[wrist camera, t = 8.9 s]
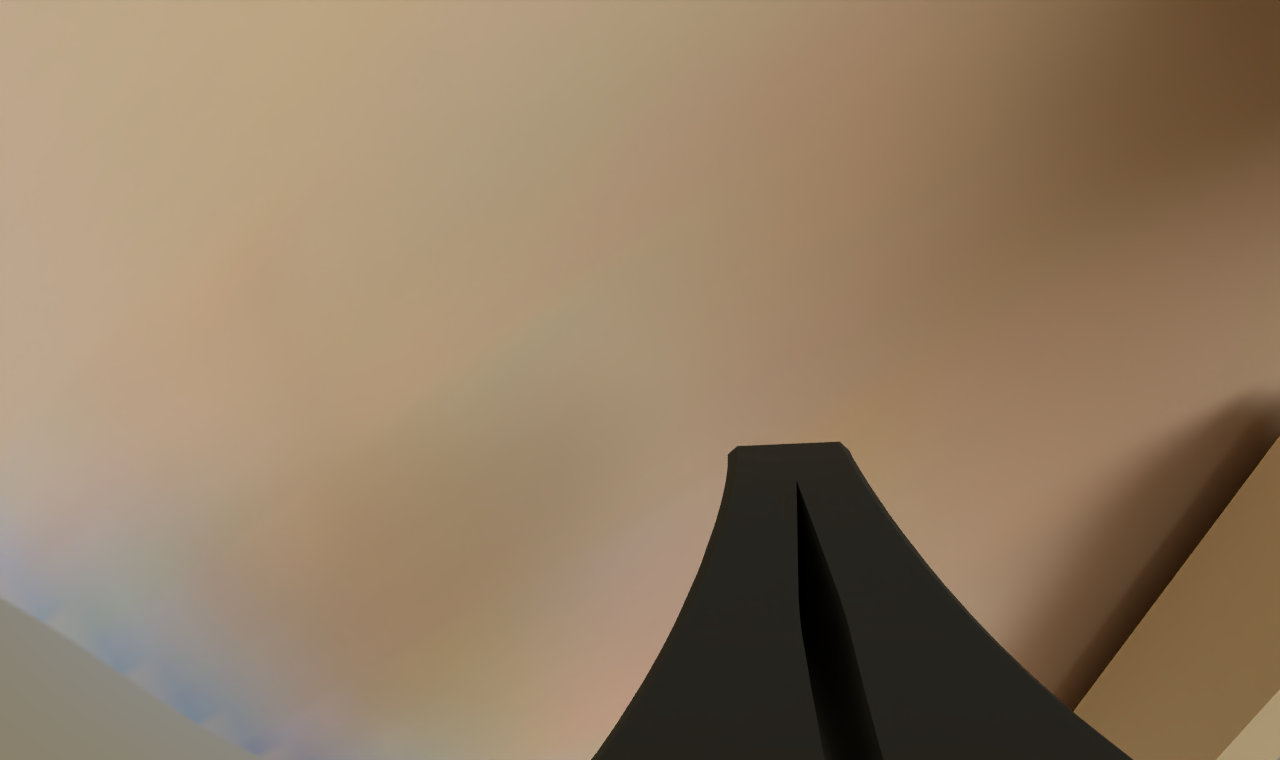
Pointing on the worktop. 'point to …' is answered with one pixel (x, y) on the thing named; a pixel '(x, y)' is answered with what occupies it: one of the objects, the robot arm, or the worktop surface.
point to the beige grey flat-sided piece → (1206, 646)
